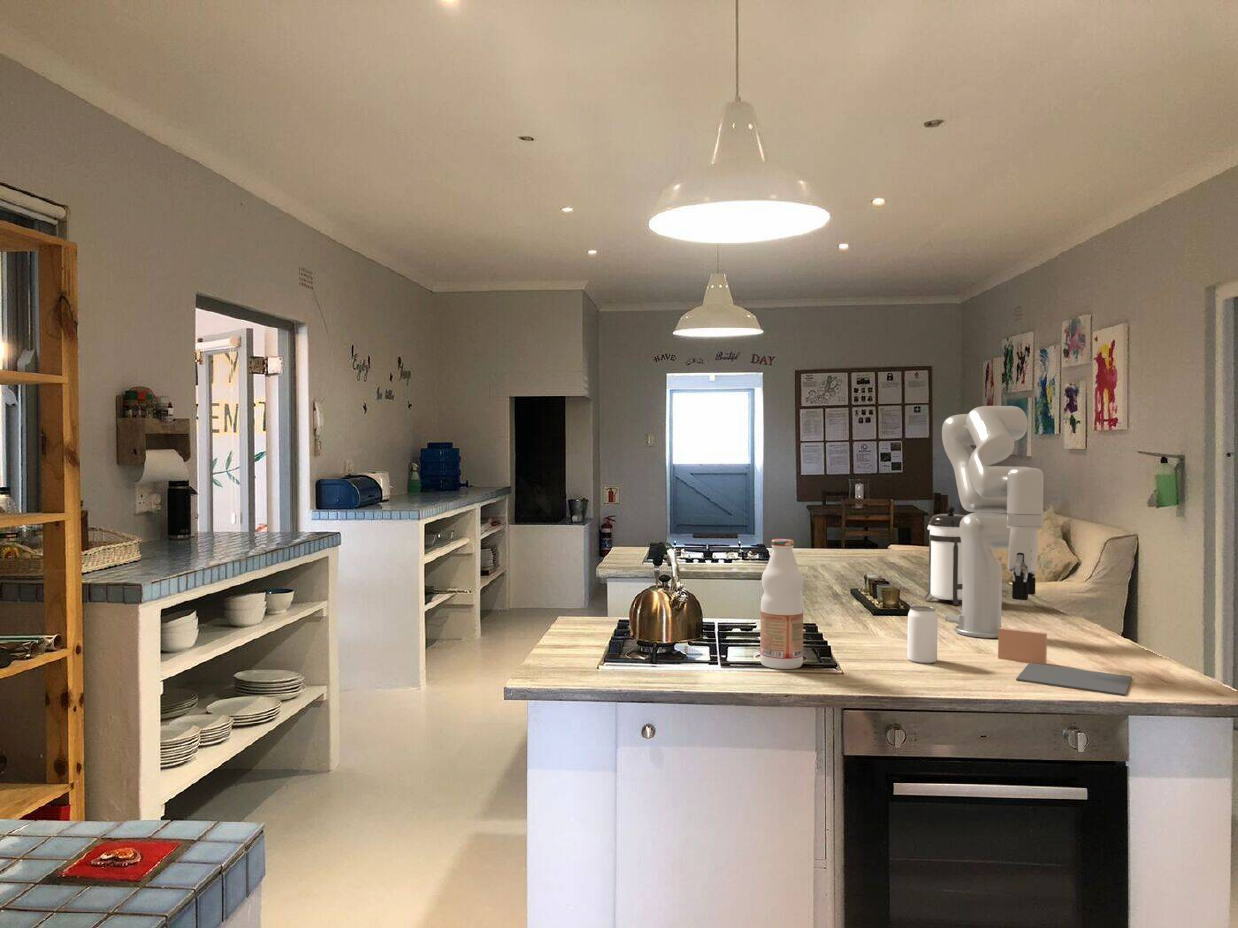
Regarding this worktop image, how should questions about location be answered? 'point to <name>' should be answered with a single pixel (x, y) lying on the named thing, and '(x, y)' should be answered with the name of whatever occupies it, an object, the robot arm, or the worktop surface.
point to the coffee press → (945, 557)
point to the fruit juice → (782, 609)
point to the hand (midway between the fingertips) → (1023, 596)
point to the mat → (1075, 679)
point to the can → (922, 635)
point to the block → (1022, 645)
